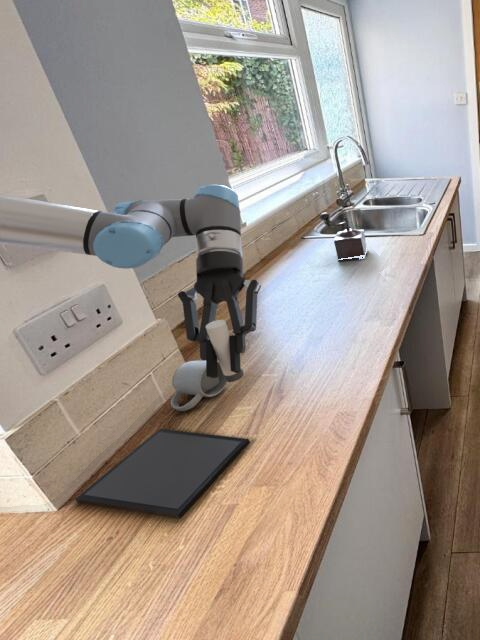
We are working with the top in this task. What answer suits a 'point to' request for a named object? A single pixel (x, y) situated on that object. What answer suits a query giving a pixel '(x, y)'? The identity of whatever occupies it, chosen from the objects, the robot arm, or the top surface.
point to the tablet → (165, 473)
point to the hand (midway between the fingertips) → (224, 373)
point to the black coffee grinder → (347, 240)
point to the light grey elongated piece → (222, 348)
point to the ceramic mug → (195, 383)
